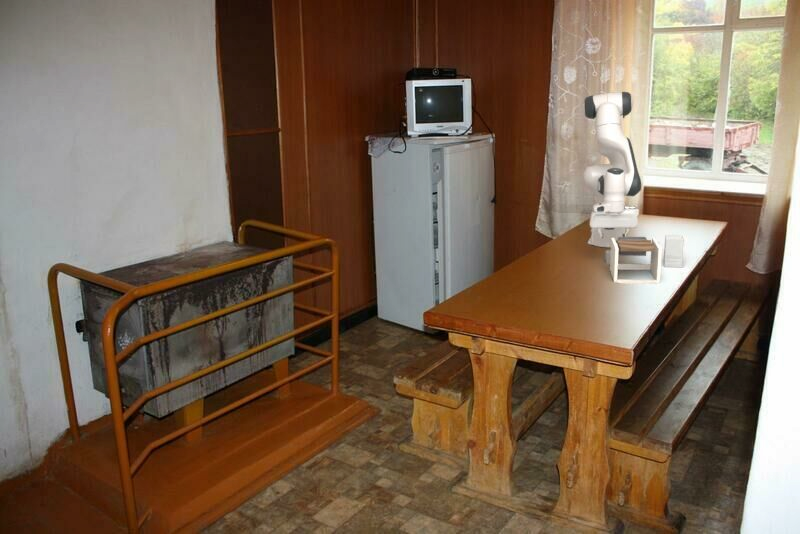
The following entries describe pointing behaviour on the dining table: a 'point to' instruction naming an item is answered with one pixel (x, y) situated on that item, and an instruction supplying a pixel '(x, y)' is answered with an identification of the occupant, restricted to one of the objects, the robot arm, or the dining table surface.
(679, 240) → the supplement box
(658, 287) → the dining table surface
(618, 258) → the light grey cube
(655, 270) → the frame
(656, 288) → the dining table surface
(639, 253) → the trapdoor
